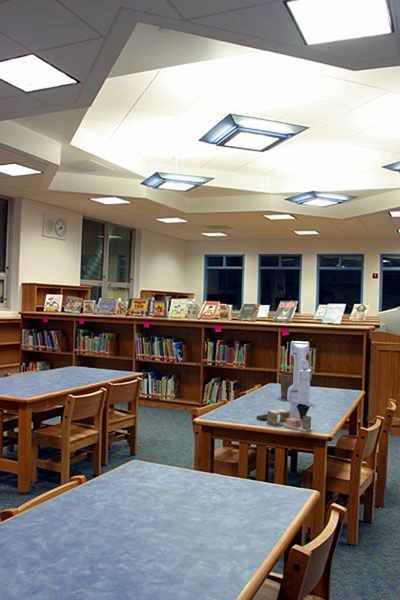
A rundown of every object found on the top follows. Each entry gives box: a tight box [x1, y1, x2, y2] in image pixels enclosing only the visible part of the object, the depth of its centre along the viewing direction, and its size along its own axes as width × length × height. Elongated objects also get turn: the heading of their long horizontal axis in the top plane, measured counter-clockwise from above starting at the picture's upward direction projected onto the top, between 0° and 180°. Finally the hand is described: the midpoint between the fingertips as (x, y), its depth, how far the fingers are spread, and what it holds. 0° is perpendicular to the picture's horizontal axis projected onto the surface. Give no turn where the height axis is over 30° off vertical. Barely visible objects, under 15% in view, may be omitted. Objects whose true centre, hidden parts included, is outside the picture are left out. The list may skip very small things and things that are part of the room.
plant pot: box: [278, 372, 298, 399], centre depth 365 cm, size 16×16×16 cm
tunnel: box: [266, 408, 290, 426], centre depth 280 cm, size 11×6×6 cm, turn 129°
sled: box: [277, 414, 314, 432], centre depth 271 cm, size 7×18×7 cm, turn 39°
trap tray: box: [256, 413, 268, 422], centre depth 287 cm, size 9×5×2 cm, turn 129°
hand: (302, 419), depth 267 cm, fingers closed
